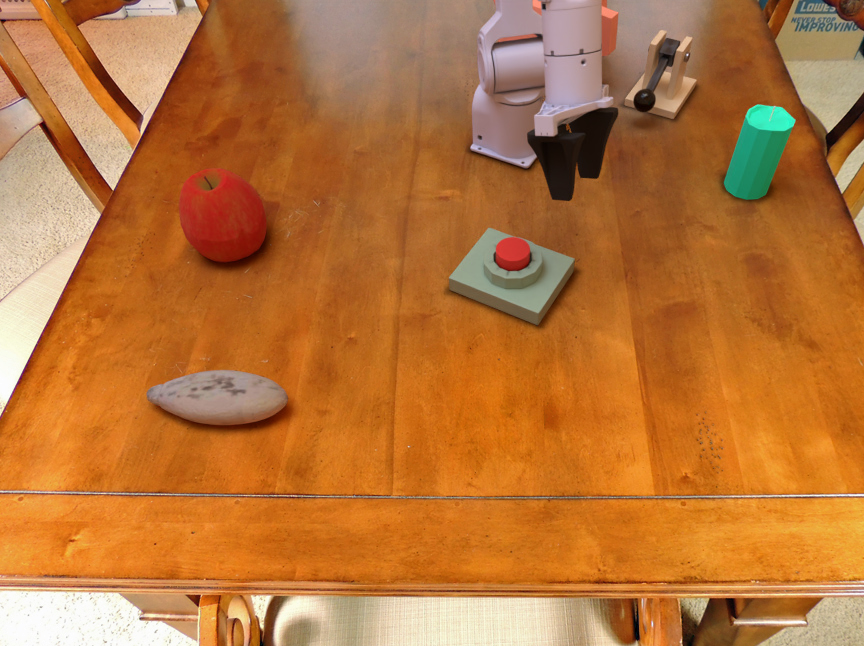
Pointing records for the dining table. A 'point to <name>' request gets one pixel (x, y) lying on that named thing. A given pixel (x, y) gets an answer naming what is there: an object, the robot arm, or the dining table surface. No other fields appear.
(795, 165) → the dining table surface
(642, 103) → the lever
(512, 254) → the button
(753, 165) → the candle
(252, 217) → the apple
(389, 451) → the dining table surface
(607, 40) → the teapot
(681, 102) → the bracket
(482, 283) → the button block
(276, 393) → the decorative stone
